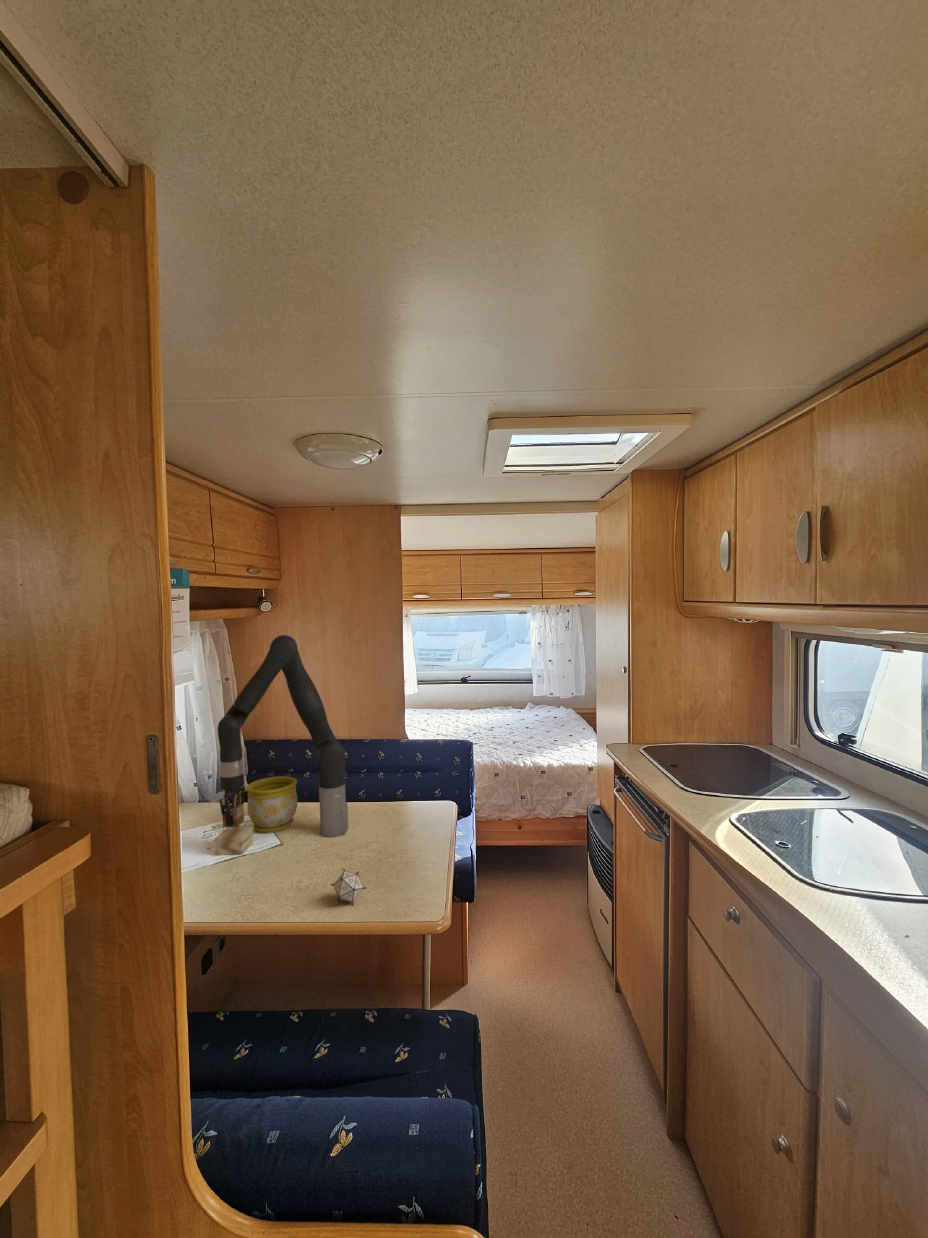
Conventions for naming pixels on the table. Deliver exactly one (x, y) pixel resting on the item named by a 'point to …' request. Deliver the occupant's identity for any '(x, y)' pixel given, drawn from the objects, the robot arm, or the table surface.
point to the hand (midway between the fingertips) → (233, 822)
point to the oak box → (234, 841)
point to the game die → (348, 886)
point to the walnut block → (236, 816)
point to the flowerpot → (272, 803)
